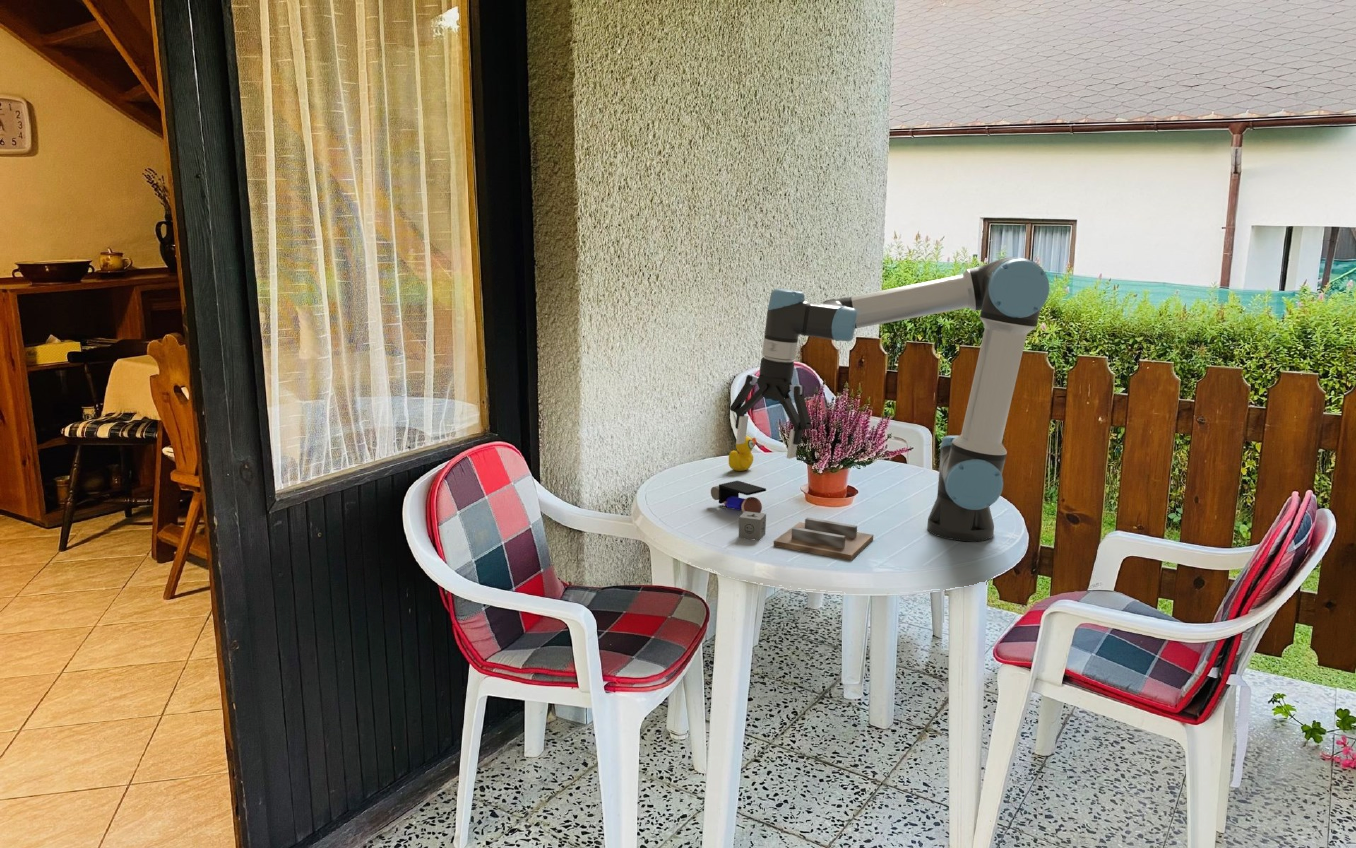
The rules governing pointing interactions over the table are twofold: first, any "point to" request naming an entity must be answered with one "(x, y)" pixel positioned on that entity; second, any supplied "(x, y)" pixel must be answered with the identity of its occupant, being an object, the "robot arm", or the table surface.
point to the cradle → (825, 539)
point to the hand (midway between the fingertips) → (765, 450)
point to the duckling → (742, 455)
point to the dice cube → (752, 525)
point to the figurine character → (730, 496)
